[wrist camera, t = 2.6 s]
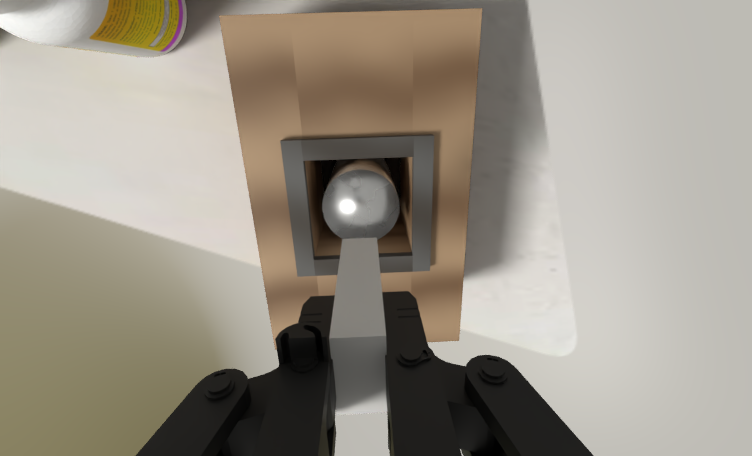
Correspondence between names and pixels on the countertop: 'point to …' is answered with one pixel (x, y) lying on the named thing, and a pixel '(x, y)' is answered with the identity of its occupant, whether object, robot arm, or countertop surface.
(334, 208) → the peg
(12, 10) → the supplement bottle
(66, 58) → the countertop surface
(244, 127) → the socket block
